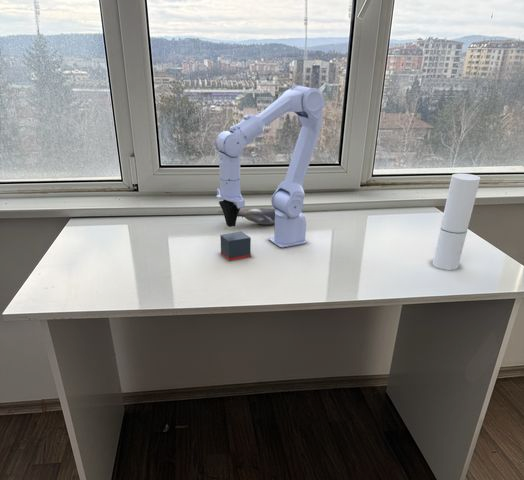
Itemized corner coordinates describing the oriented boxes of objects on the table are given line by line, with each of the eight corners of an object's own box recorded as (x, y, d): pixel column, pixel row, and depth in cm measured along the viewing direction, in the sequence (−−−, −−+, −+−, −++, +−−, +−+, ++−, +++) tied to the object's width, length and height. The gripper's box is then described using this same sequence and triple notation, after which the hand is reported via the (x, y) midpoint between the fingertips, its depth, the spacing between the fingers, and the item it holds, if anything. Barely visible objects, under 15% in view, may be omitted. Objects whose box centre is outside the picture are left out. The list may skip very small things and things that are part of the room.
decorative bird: (291, 226, 170) (292, 211, 167) (219, 228, 167) (218, 214, 164) (287, 220, 175) (288, 206, 173) (217, 222, 172) (217, 208, 169)
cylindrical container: (458, 262, 146) (480, 175, 132) (458, 271, 140) (480, 181, 127) (433, 258, 148) (452, 172, 134) (431, 267, 142) (451, 178, 128)
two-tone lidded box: (250, 237, 143) (250, 257, 146) (241, 231, 148) (241, 250, 151) (228, 241, 140) (229, 261, 144) (220, 234, 145) (220, 254, 148)
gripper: (206, 174, 141) (208, 220, 149) (227, 186, 131) (228, 235, 138) (229, 171, 144) (229, 217, 152) (251, 183, 134) (251, 232, 141)
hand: (230, 226), depth 145 cm, fingers closed
